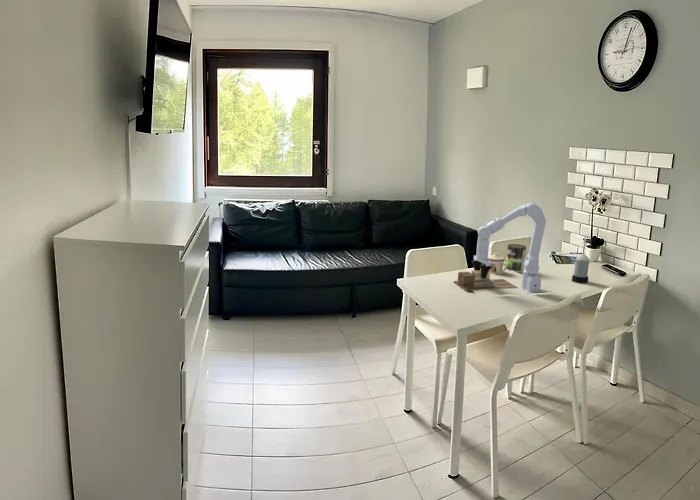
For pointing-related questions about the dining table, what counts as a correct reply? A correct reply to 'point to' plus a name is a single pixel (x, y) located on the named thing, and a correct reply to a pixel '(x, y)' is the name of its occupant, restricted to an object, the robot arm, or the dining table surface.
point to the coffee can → (515, 257)
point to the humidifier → (581, 268)
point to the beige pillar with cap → (479, 276)
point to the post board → (480, 283)
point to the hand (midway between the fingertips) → (480, 276)
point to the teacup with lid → (496, 264)
